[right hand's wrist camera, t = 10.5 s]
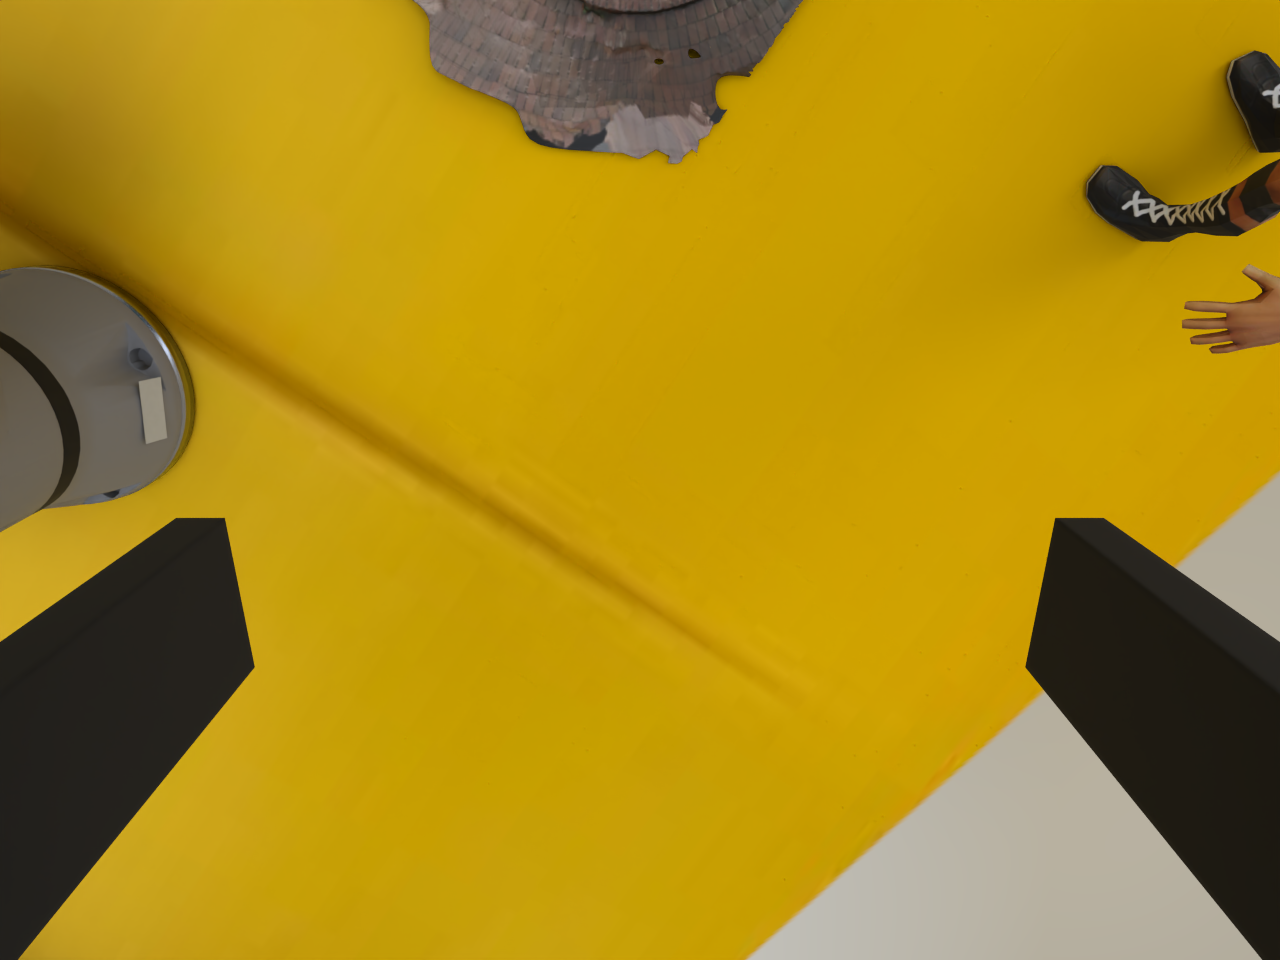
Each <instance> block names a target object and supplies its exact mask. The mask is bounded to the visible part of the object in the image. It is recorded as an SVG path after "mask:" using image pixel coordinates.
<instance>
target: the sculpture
mask: <svg viewBox="0 0 1280 960" xmlns="http://www.w3.org/2000/svg"><path fill="white" fill-rule="evenodd" d="M413 1H415V2H416V3H417V4H418V5H420V6H421V7H422V8H423V10H424V11H425V12H426V14H427V16H428V18H429V21H430V56H431V61H432V65H433V67H434V68H435V70H436V71H437V72H439V73H441V74H443V75H445V76H447V77H449V78H451V79H453V80H455V81H457V82H459V83H461V84H463V85H465V86H467V87H469V88H472V89H474V90H477V91H480V92H482V93H485V94H487V95H490V96H492V97H495V98H497V99H499V100H501V101H504V102H506V103H508V104H509V105H511V106H512V107H514V108H515V109H516V110H517V112H518V113H519V116H520V118H521V121H522V124H523V127H524V130H525V132H526V134H527V135H528V137H529V138H530V139H531V140H533V141H534V142H536V143H538V144H540V145H544V146H548V147H553V148H561V149H569V150H584V151H600V152H618V153H625V154H627V155H630V156H633V157H635V158H638V159H639V158H641V157H643V156H645V155H647V154H648V153H650V152H652V151H654V150H658V151H660V152H663V153H665V154H667V155H669V156H670V157H669V162H668V163H679V162H681V161H682V157H683V156H684V155H685V154H686V153H688V152H689V151H690V150H691V149H693V150H694V151H695V152H696V153H697V147H698V145H699V141H698V140H699V139H701V138H703V137H705V136H708V134H709V132H710V130H711V128H712V126H713V125H714V124H716V123H718V122H720V120H721V118H722V116H723V115H724V113H725V112H726V111H727V110H722V109H720V108H719V107H718V105H717V102H716V98H715V86H716V83H717V80H718V79H719V78H720V77H722V76H726V75H739V76H747V77H749V76H750V75H751V74H750V73H749V72H750V71H753V69H752V68H753V67H754V66H755V65H756V64H757V63H759V62H760V61H761V60H762V59H763V57H764V56H765V54H766V53H767V51H768V48H769V47H771V46H772V44H773V43H774V40H775V38H776V36H777V35H778V34H779V33H780V32H781V30H782V29H783V28H784V27H783V25H784V24H785V23H787V22H789V18H791V17H792V15H793V14H794V12H795V11H796V10H795V8H797V7H799V6H798V5H799V4H800V3H801V2H802V1H803V0H413ZM689 49H694V50H695V51H697V52H698V53H699V54H700V56H701V57H700V58H690V57H689V55H688V51H689ZM657 58H660V59H662V60H663V61H664V63H663V64H661V65H657V64H655V62H654V60H655V59H657Z"/></svg>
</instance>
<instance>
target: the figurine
mask: <svg viewBox="0 0 1280 960" xmlns="http://www.w3.org/2000/svg"><path fill="white" fill-rule="evenodd" d="M1227 81H1228V85H1229V89H1230V93H1231V96H1232V98H1233V100H1234V102H1235V104H1236V106H1237V108H1238V110H1239V112H1240V113H1241V115H1242V117H1243V119H1244V121H1245V123H1246V126H1247V128H1248V131H1249V133H1250V136H1251V138H1252V140H1253V143H1254V145H1255V147H1256V150H1257V151H1258V152H1261V153H1270V152H1280V68H1279V67H1278V66H1277V65H1276V64H1275V62H1274V61H1273V60H1272V59H1271V58H1270V57H1269V56H1268V55H1267V54H1265V53H1262V52H1259V51H1252V52H1250V53H1248V54H1245V55H1243V56H1241V57H1239V58H1237V59H1235V60H1233V61H1231V64H1230V67H1229V70H1228V74H1227ZM1086 197H1087V199H1088V200H1089V202H1090V204H1091V206H1092V208H1093V210H1094V211H1095V213H1096V214H1098V215H1099V216H1100V217H1101V218H1102V219H1104V220H1105V221H1106V222H1107V223H1109V224H1111V225H1112V226H1114V227H1116V228H1118V229H1120V230H1121V231H1123V232H1125V233H1127V234H1128V235H1130V236H1132V237H1134V238H1135V239H1138V240H1140V241H1154V242H1170V241H1172V240H1174V239H1175V238H1177V237H1180V236H1182V235H1185V234H1187V233H1195V232H1197V233H1203V234H1210V235H1216V236H1239V235H1241V234H1243V233H1245V232H1247V231H1249V230H1251V229H1253V228H1255V227H1257V226H1259V225H1261V224H1263V223H1264V222H1266V221H1268V220H1270V219H1272V218H1274V217H1275V216H1276V215H1277V214H1278V213H1279V212H1280V159H1279V160H1277V161H1275V162H1272V163H1270V164H1268V165H1266V166H1265V167H1263V168H1261V169H1260V170H1258V171H1257V172H1255V173H1253V174H1252V175H1251V176H1249V177H1248V178H1246V179H1245V180H1244V181H1242V182H1241V183H1239V184H1237V185H1235V186H1233V187H1232V188H1230V189H1228V190H1226V191H1224V192H1222V193H1220V194H1218V195H1215V196H1213V197H1211V198H1209V199H1206V200H1203V201H1200V202H1197V203H1194V204H1191V205H1167V204H1165V203H1164V202H1163V201H1161V200H1160V199H1159V198H1157V197H1155V196H1152V195H1150V194H1149V193H1148V192H1147V191H1146V190H1145V189H1144V187H1143V186H1142V185H1141V184H1140V183H1139V181H1138V180H1136V179H1135V178H1134V177H1132V176H1131V175H1129V174H1128V173H1126V172H1125V171H1123V170H1122V169H1121V168H1119V167H1118V166H1104V165H1103V166H1100V167H1099V168H1098V169H1097V170H1096V172H1095V173H1094V174H1093V175H1092V177H1091V178H1090V179H1089V181H1088V182H1087V195H1086ZM1242 272H1243V273H1244V274H1245V275H1246V276H1247V277H1249V278H1250V279H1251V280H1253V281H1255V282H1256V283H1257V284H1258V285H1259V286H1260V287H1261V289H1262V293H1261V294H1260V295H1258V296H1257V297H1256V298H1255V299H1251V300H1247V301H1242V302H1236V303H1226V302H1212V301H1188V302H1185V308H1184V309H1188V310H1192V311H1201V312H1220V313H1226V317H1222V318H1205V319H1185V320H1182V328H1187V329H1224V328H1225V329H1228V330H1226V331H1221V332H1217V333H1209V334H1202V335H1196V336H1193V337H1191V338H1190V341H1191V344H1199V345H1200V344H1212V343H1220V342H1226V341H1233V342H1234V343H1230V344H1224V345H1217V346H1212V347H1211V348H1209V350H1210V351H1211V353H1228V352H1233V351H1237V350H1241V349H1246V348H1252V347H1258V346H1264V345H1271V344H1275V343H1279V342H1280V278H1279V277H1276V276H1273V275H1271V274H1268V273H1266V272H1264V271H1262V270H1260V269H1258V268H1256V267H1254V266H1252V265H1250V264H1249V265H1248V266H1247V267H1246V268H1245V269H1244V270H1243V271H1242Z"/></svg>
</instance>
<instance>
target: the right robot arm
mask: <svg viewBox="0 0 1280 960" xmlns="http://www.w3.org/2000/svg"><path fill="white" fill-rule="evenodd" d="M194 414H195V401H194V392H193V387H192V382H191V378H190V375H189V371H188V368H187V366H186V363H185V361H184V358H183V356H182V354H181V352H180V350H179V348H178V347H177V345H176V343H175V342H174V340H173V338H172V337H171V335H170V334H169V333H168V331H167V330H166V329H165V327H164V326H163V325H162V324H161V322H160V321H159V320H158V319H157V318H156V317H155V316H154V315H153V314H152V313H151V312H150V311H149V310H148V309H147V308H146V307H145V306H144V305H143V304H142V303H140V302H139V301H138V300H137V299H136V298H134V297H133V296H132V295H130V294H129V293H127V292H126V291H124V290H123V289H121V288H119V287H118V286H116V285H114V284H113V283H111V282H109V281H107V280H105V279H102V278H100V277H98V276H95V275H93V274H90V273H87V272H84V271H80V270H77V269H72V268H67V267H60V266H31V267H22V268H14V269H8V270H4V271H0V532H1V531H3V530H5V529H7V528H8V527H10V526H12V525H14V524H16V523H18V522H19V521H21V520H23V519H25V518H27V517H28V516H30V515H32V514H34V513H36V512H38V511H40V510H41V509H47V508H57V507H66V506H75V505H81V504H93V503H100V502H106V501H110V500H114V499H117V498H120V497H123V496H127V495H129V494H132V493H134V492H136V491H138V490H140V489H142V488H144V487H145V486H147V485H149V484H150V483H152V482H154V481H155V480H157V479H159V478H160V477H161V476H163V475H164V474H165V473H166V472H168V471H169V470H170V469H171V468H172V467H173V466H174V464H175V463H176V462H177V461H178V460H179V458H180V456H181V455H182V453H183V452H184V450H185V448H186V446H187V444H188V441H189V438H190V435H191V432H192V428H193V423H194ZM254 667H255V666H254V662H253V657H252V652H251V647H250V642H249V637H248V632H247V627H246V622H245V617H244V612H243V607H242V602H241V597H240V592H239V587H238V582H237V577H236V572H235V567H234V562H233V557H232V552H231V547H230V542H229V537H228V532H227V527H226V522H225V518H176V519H174V520H173V521H171V522H170V523H169V524H167V525H166V526H164V527H163V528H161V529H160V530H159V531H157V532H156V533H154V534H153V535H151V536H150V537H149V538H147V539H146V540H144V541H143V542H142V543H140V544H139V545H137V546H136V547H134V548H133V549H132V550H130V551H129V552H127V553H126V554H125V555H123V556H122V557H120V558H119V559H117V560H116V561H115V562H113V563H112V564H110V565H109V566H107V567H106V568H105V569H103V570H102V571H100V572H99V573H98V574H96V575H95V576H93V577H92V578H90V579H89V580H88V581H86V582H85V583H83V584H82V585H80V586H79V587H78V588H76V589H75V590H73V591H72V592H71V593H69V594H68V595H66V596H65V597H63V598H62V599H61V600H59V601H58V602H56V603H55V604H54V605H52V606H51V607H49V608H48V609H46V610H45V611H44V612H42V613H41V614H39V615H38V616H36V617H35V618H34V619H32V620H31V621H29V622H28V623H27V624H25V625H24V626H22V627H21V628H19V629H18V630H17V631H15V632H14V633H12V634H11V635H9V636H8V637H7V638H5V639H4V640H2V641H1V642H0V960H18V959H19V957H20V956H21V955H22V954H23V952H24V951H25V950H26V949H27V948H28V946H29V945H30V944H31V943H32V941H33V940H34V939H35V938H36V936H37V935H38V934H39V933H40V932H41V930H42V929H43V928H44V927H45V925H46V924H47V923H48V922H49V920H50V919H51V918H52V917H53V915H54V914H55V913H56V912H57V911H58V909H59V908H60V907H61V906H62V904H63V903H64V902H65V901H66V899H67V898H68V897H69V896H70V894H71V893H72V892H73V891H74V890H75V888H76V887H77V886H78V885H79V883H80V882H81V881H82V880H83V878H84V877H85V876H86V875H87V873H88V872H89V871H90V870H91V869H92V867H93V866H94V865H95V864H96V862H97V861H98V860H99V859H100V857H101V856H102V855H103V854H104V852H105V851H106V850H107V849H108V848H109V846H110V845H111V844H112V843H113V841H114V840H115V839H116V838H117V836H118V835H119V834H120V833H121V832H122V830H123V829H124V828H125V827H126V825H127V824H128V823H129V822H130V820H131V819H132V818H133V817H134V815H135V814H136V813H137V812H138V811H139V809H140V808H141V807H142V806H143V804H144V803H145V802H146V801H147V799H148V798H149V797H150V796H151V794H152V793H153V792H154V791H155V790H156V788H157V787H158V786H159V785H160V783H161V782H162V781H163V780H164V778H165V777H166V776H167V775H168V773H169V772H170V771H171V770H172V769H173V767H174V766H175V765H176V764H177V762H178V761H179V760H180V759H181V757H182V756H183V755H184V754H185V753H186V751H187V750H188V749H189V748H190V746H191V745H192V744H193V743H194V741H195V740H196V739H197V738H198V736H199V735H200V734H201V733H202V732H203V730H204V729H205V728H206V727H207V725H208V724H209V723H210V722H211V720H212V719H213V718H214V717H215V715H216V714H217V713H218V712H219V711H220V709H221V708H222V707H223V706H224V704H225V703H226V702H227V701H228V699H229V698H230V697H231V696H232V694H233V693H234V692H235V691H236V690H237V688H238V687H239V686H240V685H241V683H242V682H243V681H244V680H245V678H246V677H247V676H248V675H249V673H250V672H251V671H252V670H253V669H254ZM1025 667H1026V669H1027V670H1028V671H1029V672H1030V674H1031V675H1032V676H1033V677H1034V678H1035V680H1036V681H1037V682H1038V683H1039V685H1040V686H1041V687H1042V688H1043V690H1044V691H1045V692H1046V693H1047V694H1048V696H1049V697H1050V698H1051V699H1052V701H1053V702H1054V703H1055V704H1056V706H1057V707H1058V708H1059V709H1060V711H1061V712H1062V713H1063V714H1064V715H1065V717H1066V718H1067V719H1068V720H1069V722H1070V723H1071V724H1072V725H1073V727H1074V728H1075V729H1076V730H1077V732H1078V733H1079V734H1080V735H1081V736H1082V738H1083V739H1084V740H1085V741H1086V743H1087V744H1088V745H1089V746H1090V748H1091V749H1092V750H1093V751H1094V752H1095V754H1096V755H1097V756H1098V757H1099V759H1100V760H1101V761H1102V762H1103V764H1104V765H1105V766H1106V767H1107V769H1108V770H1109V771H1110V772H1111V773H1112V775H1113V776H1114V777H1115V778H1116V780H1117V781H1118V782H1119V783H1120V785H1121V786H1122V787H1123V788H1124V789H1125V791H1126V792H1127V793H1128V794H1129V796H1130V797H1131V798H1132V799H1133V801H1134V802H1135V803H1136V804H1137V806H1138V807H1139V808H1140V809H1141V811H1142V812H1143V813H1144V814H1145V815H1146V817H1147V818H1148V819H1149V820H1150V822H1151V823H1152V824H1153V825H1154V826H1155V828H1156V829H1157V830H1158V832H1159V833H1160V834H1161V835H1162V836H1163V838H1164V839H1165V840H1166V841H1167V843H1168V844H1169V845H1170V846H1171V848H1172V849H1173V850H1174V851H1175V852H1176V854H1177V855H1178V856H1179V857H1180V859H1181V860H1182V861H1183V862H1184V864H1185V865H1186V866H1187V867H1188V868H1189V870H1190V871H1191V872H1192V873H1193V875H1194V876H1195V877H1196V878H1197V880H1198V881H1199V882H1200V883H1201V884H1202V886H1203V887H1204V888H1205V890H1206V891H1207V892H1208V893H1209V894H1210V896H1211V897H1212V898H1213V899H1214V901H1215V902H1216V903H1217V904H1218V906H1219V907H1220V908H1221V909H1222V910H1223V912H1224V913H1225V914H1226V915H1227V917H1228V918H1229V919H1230V920H1231V922H1232V923H1233V924H1234V925H1235V927H1236V928H1237V929H1238V930H1239V931H1240V933H1241V934H1242V935H1243V936H1244V938H1245V939H1246V940H1247V941H1248V943H1249V944H1250V945H1251V946H1252V948H1253V949H1254V950H1255V951H1256V952H1257V954H1258V955H1259V956H1260V957H1261V959H1262V960H1280V642H1279V641H1278V640H1276V639H1275V638H1273V637H1272V636H1270V635H1269V634H1268V633H1266V632H1265V631H1263V630H1262V629H1260V628H1259V627H1258V626H1256V625H1255V624H1253V623H1252V622H1251V621H1249V620H1248V619H1246V618H1245V617H1244V616H1242V615H1241V614H1239V613H1238V612H1236V611H1235V610H1234V609H1232V608H1231V607H1229V606H1228V605H1226V604H1225V603H1224V602H1222V601H1221V600H1219V599H1218V598H1216V597H1215V596H1214V595H1212V594H1211V593H1209V592H1208V591H1207V590H1205V589H1204V588H1202V587H1201V586H1200V585H1198V584H1197V583H1195V582H1194V581H1192V580H1191V579H1190V578H1188V577H1187V576H1185V575H1184V574H1182V573H1181V572H1180V571H1178V570H1177V569H1175V568H1174V567H1173V566H1171V565H1170V564H1168V563H1167V562H1165V561H1164V560H1163V559H1161V558H1160V557H1158V556H1157V555H1155V554H1154V553H1153V552H1151V551H1150V550H1148V549H1147V548H1146V547H1144V546H1143V545H1141V544H1140V543H1138V542H1137V541H1136V540H1134V539H1133V538H1131V537H1130V536H1129V535H1127V534H1126V533H1124V532H1123V531H1121V530H1120V529H1119V528H1117V527H1116V526H1114V525H1113V524H1111V523H1110V522H1109V521H1107V520H1106V519H1104V518H1055V522H1054V527H1053V532H1052V537H1051V542H1050V547H1049V552H1048V557H1047V562H1046V567H1045V572H1044V577H1043V582H1042V587H1041V592H1040V597H1039V602H1038V607H1037V612H1036V617H1035V622H1034V627H1033V632H1032V637H1031V642H1030V647H1029V652H1028V657H1027V662H1026V666H1025Z"/></svg>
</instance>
